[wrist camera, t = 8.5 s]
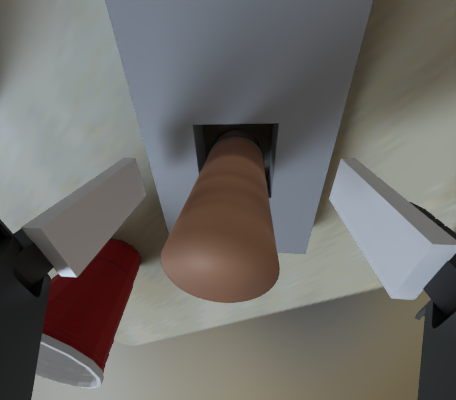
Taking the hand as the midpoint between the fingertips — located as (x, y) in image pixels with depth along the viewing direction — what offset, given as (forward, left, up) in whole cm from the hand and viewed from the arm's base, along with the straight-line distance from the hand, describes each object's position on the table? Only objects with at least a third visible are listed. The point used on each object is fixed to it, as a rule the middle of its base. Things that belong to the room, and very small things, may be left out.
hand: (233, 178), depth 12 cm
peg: (0, 0, -5) cm, 5 cm away
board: (0, 0, -5) cm, 5 cm away
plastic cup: (+14, -16, -5) cm, 22 cm away
